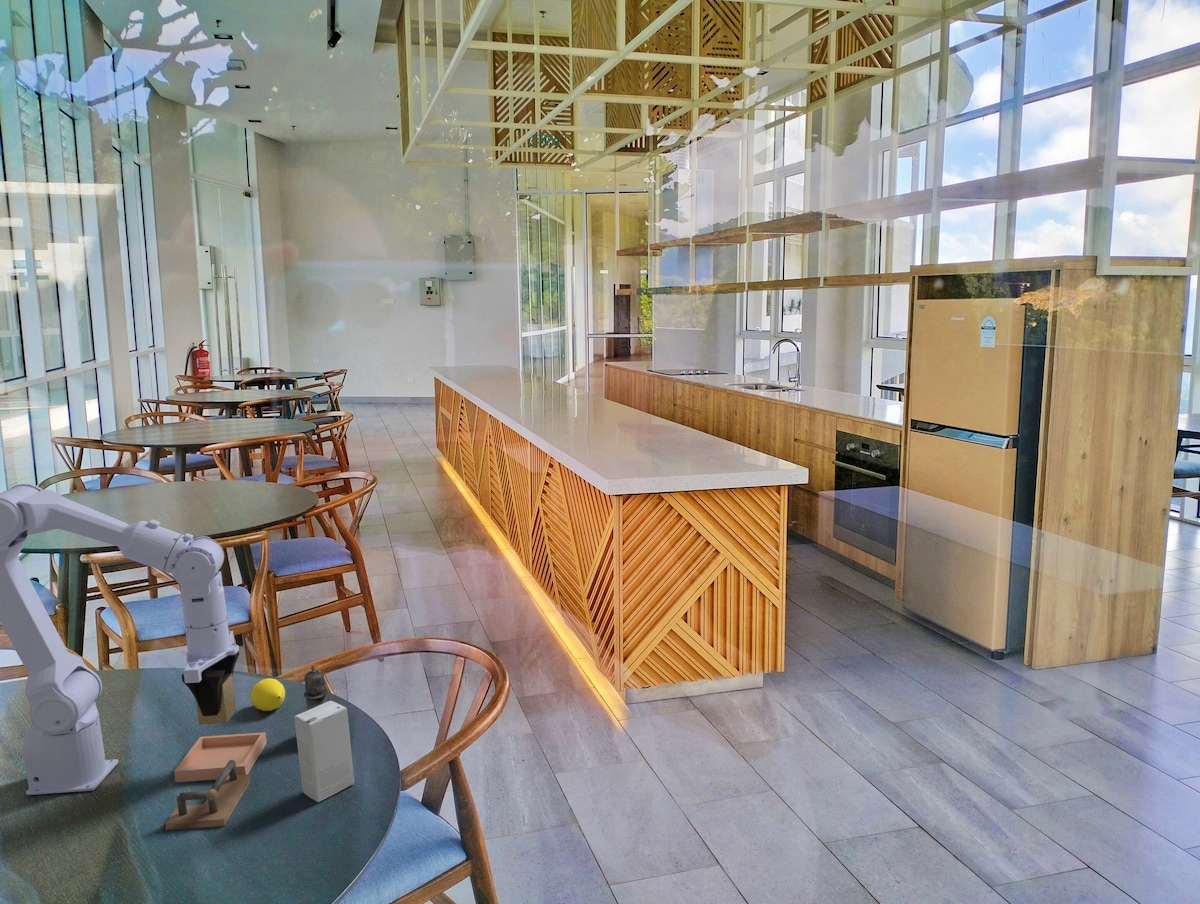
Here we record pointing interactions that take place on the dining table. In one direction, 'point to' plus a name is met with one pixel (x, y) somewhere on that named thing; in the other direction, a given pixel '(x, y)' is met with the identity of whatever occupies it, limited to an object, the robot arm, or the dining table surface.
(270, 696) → the lemon
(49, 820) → the dining table surface
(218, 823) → the bent wire
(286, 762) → the dining table surface
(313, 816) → the dining table surface
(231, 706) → the hollow wooden box
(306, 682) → the dark grey chess piece
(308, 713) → the skincare box
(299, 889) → the dining table surface
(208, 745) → the dish
